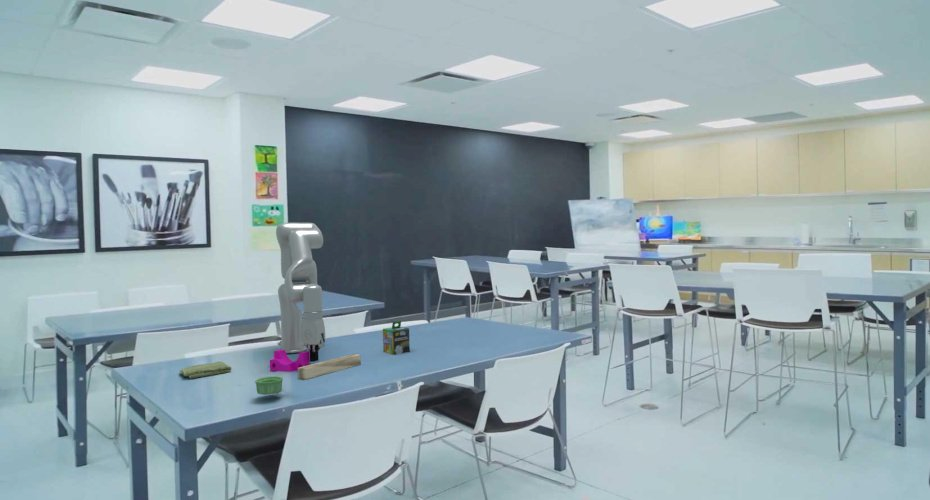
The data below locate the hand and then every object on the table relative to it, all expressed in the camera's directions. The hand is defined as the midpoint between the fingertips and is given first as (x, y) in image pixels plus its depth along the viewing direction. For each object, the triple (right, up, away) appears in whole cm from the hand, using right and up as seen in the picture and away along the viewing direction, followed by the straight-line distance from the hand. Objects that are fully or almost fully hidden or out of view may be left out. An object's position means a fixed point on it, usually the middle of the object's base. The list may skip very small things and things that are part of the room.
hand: (314, 361), depth 231 cm
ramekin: (-6, -4, -35) cm, 36 cm away
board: (+8, -3, -5) cm, 10 cm away
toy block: (-10, -4, -1) cm, 10 cm away
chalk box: (+30, -2, +30) cm, 42 cm away
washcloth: (-43, -5, -2) cm, 44 cm away
